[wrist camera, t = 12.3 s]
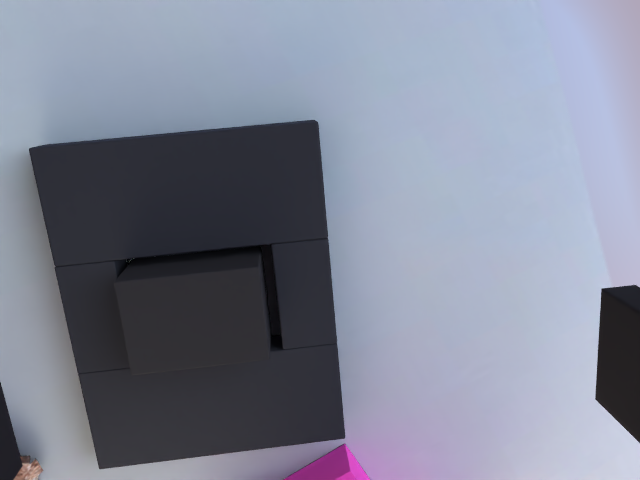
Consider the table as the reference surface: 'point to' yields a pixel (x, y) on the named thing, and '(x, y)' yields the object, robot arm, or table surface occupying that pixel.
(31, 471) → the plant with pod
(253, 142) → the charcoal pad
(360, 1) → the table surface
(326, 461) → the bracket
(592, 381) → the table surface
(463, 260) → the table surface
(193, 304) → the black pad
